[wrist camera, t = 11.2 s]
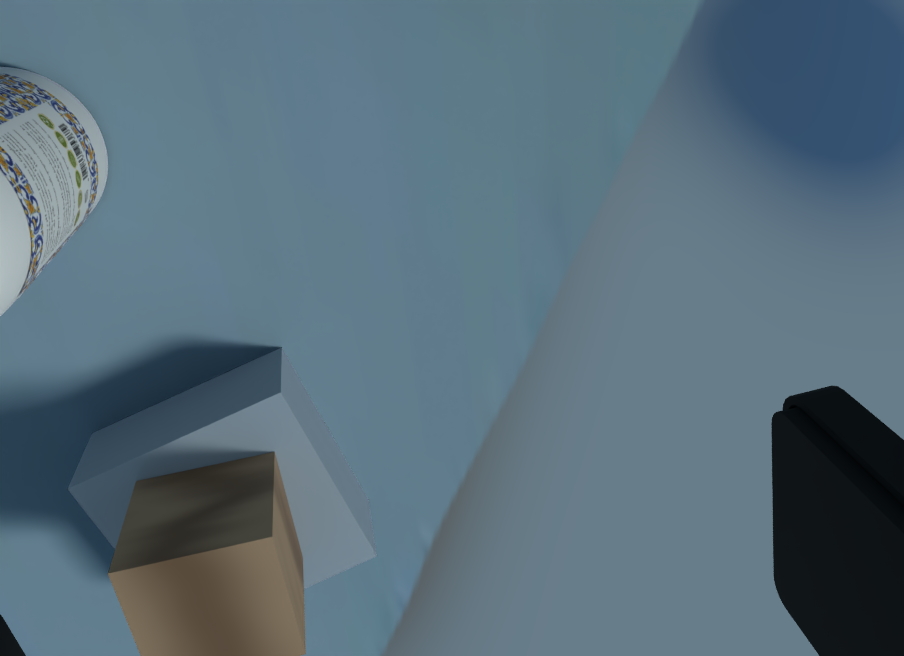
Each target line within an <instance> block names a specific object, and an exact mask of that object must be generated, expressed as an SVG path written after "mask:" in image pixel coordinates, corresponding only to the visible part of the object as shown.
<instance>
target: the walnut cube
mask: <svg viewBox="0 0 904 656" xmlns="http://www.w3.org/2000/svg"><path fill="white" fill-rule="evenodd" d="M108 575H109V578H110V580H111V583H112V585H113V588H114V590H115V593H116V595H117V598H118V600H119V603H120V605H121V608H122V610H123V613H124V615H125V618H126V620H127V623H128V625H129V628H130V630H131V633H132V635H133V638H134V640H135V643H136V645H137V648H138V650H139V653H140V655H141V656H300V655H304V654H306V652H305V614H304V576H303V556H302V552H301V548H300V545H299V541H298V537H297V533H296V530H295V526H294V522H293V518H292V515H291V511H290V507H289V503H288V500H287V496H286V492H285V488H284V485H283V481H282V477H281V473H280V470H279V466H278V462H277V458H276V455H275V452H271V453H266V454H261V455H257V456H252V457H247V458H243V459H238V460H233V461H228V462H224V463H219V464H214V465H210V466H205V467H200V468H195V469H191V470H186V471H181V472H177V473H172V474H167V475H163V476H158V477H153V478H148V479H144V480H139V481H136V483H135V486H134V489H133V493H132V496H131V499H130V502H129V506H128V509H127V512H126V516H125V519H124V522H123V526H122V529H121V532H120V535H119V539H118V542H117V545H116V549H115V552H114V555H113V559H112V562H111V565H110V568H109V572H108Z"/></svg>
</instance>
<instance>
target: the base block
mask: <svg viewBox="0 0 904 656" xmlns="http://www.w3.org/2000/svg"><path fill="white" fill-rule="evenodd" d="M271 452H275V455H276V458H277V462H278V466H279V470H280V473H281V477H282V481H283V485H284V488H285V492H286V496H287V500H288V503H289V507H290V511H291V515H292V518H293V522H294V526H295V530H296V533H297V537H298V541H299V545H300V548H301V552H302V556H303V576H304V589H306V588H308V587H310V586H312V585H314V584H317V583H319V582H321V581H323V580H325V579H328V578H330V577H332V576H334V575H336V574H339V573H341V572H343V571H345V570H347V569H350V568H352V567H354V566H356V565H358V564H361V563H363V562H365V561H367V560H369V559H372V558H374V557H376V556H377V553H376V546H375V539H374V533H373V526H372V519H371V513H370V506H369V499H368V498H367V496H366V494H365V492H364V491H363V489H362V487H361V485H360V484H359V482H358V480H357V478H356V477H355V475H354V473H353V471H352V470H351V468H350V466H349V464H348V462H347V461H346V459H345V457H344V455H343V454H342V452H341V450H340V448H339V447H338V445H337V443H336V441H335V440H334V438H333V436H332V434H331V433H330V431H329V429H328V427H327V426H326V424H325V422H324V420H323V419H322V417H321V415H320V413H319V412H318V410H317V408H316V406H315V405H314V403H313V401H312V399H311V397H310V396H309V394H308V392H307V390H306V389H305V387H304V385H303V383H302V382H301V380H300V378H299V376H298V375H297V373H296V371H295V369H294V368H293V366H292V364H291V362H290V361H289V359H288V357H287V355H286V354H285V352H284V350H283V348H282V347H281V348H279V349H277V350H275V351H273V352H270V353H268V354H266V355H264V356H262V357H259V358H257V359H255V360H253V361H251V362H248V363H246V364H244V365H242V366H239V367H237V368H235V369H233V370H231V371H228V372H226V373H224V374H222V375H220V376H217V377H215V378H213V379H211V380H209V381H206V382H204V383H202V384H200V385H197V386H195V387H193V388H191V389H189V390H186V391H184V392H182V393H180V394H178V395H175V396H173V397H171V398H169V399H167V400H164V401H162V402H160V403H158V404H156V405H153V406H151V407H149V408H147V409H144V410H142V411H140V412H138V413H136V414H133V415H131V416H129V417H127V418H125V419H122V420H120V421H118V422H116V423H114V424H111V425H109V426H107V427H105V428H103V429H100V430H98V431H96V432H94V433H92V434H91V436H90V439H89V441H88V443H87V446H86V448H85V450H84V452H83V455H82V457H81V459H80V461H79V464H78V466H77V468H76V471H75V473H74V475H73V477H72V480H71V482H70V484H69V486H68V490H69V492H70V493H71V494H72V495H73V497H74V498H75V499H76V501H77V502H78V503H79V504H80V506H81V507H82V508H83V510H84V511H85V512H86V513H87V515H88V516H89V517H90V518H91V520H92V521H93V522H94V524H95V525H96V526H97V527H98V529H99V530H100V531H101V533H102V534H103V535H104V536H105V538H106V539H107V540H108V541H109V543H110V544H111V545H112V547H113V548H114V549H116V545H117V542H118V539H119V535H120V532H121V529H122V526H123V522H124V519H125V516H126V512H127V509H128V506H129V502H130V499H131V496H132V493H133V489H134V486H135V483H136V481H139V480H144V479H148V478H153V477H158V476H163V475H167V474H172V473H177V472H181V471H186V470H191V469H195V468H200V467H205V466H210V465H214V464H219V463H224V462H228V461H233V460H238V459H243V458H247V457H252V456H257V455H261V454H266V453H271Z"/></svg>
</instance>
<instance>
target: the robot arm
mask: <svg viewBox="0 0 904 656" xmlns="http://www.w3.org/2000/svg"><path fill="white" fill-rule="evenodd" d="M772 479H773V480H772V485H773V557H774V581H775V585H776V589H777V591H778V594H779V597H780V599H781V601H782V603H783V605H784V606H785V608H786V609H787V610H788V612H789V614H790V615H791V616H792V618H793V619H794V621H795V622H796V623H797V625H798V626H799V628H800V629H801V630H802V632H803V633H804V635H805V636H806V637H807V639H808V640H809V642H810V643H811V644H812V646H813V647H814V649H815V650H816V651H817V653H818V654H819V656H904V440H903V439H902V438H900V437H899V436H898V435H897V434H896V433H895V432H893V431H892V430H891V429H890V428H889V427H887V426H886V425H885V424H884V423H882V422H881V421H880V420H879V419H878V418H877V417H875V416H874V415H873V414H872V413H870V412H869V411H868V410H867V409H866V408H865V407H863V406H862V405H861V404H860V403H859V402H857V401H856V400H855V399H854V398H853V397H851V396H850V395H849V394H848V393H847V392H845V391H844V390H843V389H841V388H839V387H838V386H829V387H825V388H821V389H817V390H813V391H809V392H805V393H801V394H797V395H793V396H789V397H788V398H787V399H785V402H784V404H783V411H779V412H776V413H775V414H774V415H773V417H772ZM0 656H26V655H25V654H24V652H23V650H22V649H21V647H20V645H19V644H18V642H17V640H16V639H15V637H14V635H13V634H12V632H11V630H10V629H9V627H8V625H7V624H6V622H5V620H4V619H3V617H2V616H1V615H0Z"/></svg>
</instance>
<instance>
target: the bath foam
mask: <svg viewBox="0 0 904 656" xmlns="http://www.w3.org/2000/svg"><path fill="white" fill-rule="evenodd" d="M107 173H108V158H107V151H106V146H105V143H104V139H103V137H102V134H101V132H100V129H99V127H98V125H97V124H96V122H95V120H94V119H93V117H92V116H91V114H90V113H89V111H88V110H87V109H86V108H85V106H84V105H83V104H82V103H81V102H80V101H79V100H78V99H77V98H76V97H75V96H74V95H73V94H71V93H70V92H69V91H68V90H66V89H65V88H63V87H62V86H61V85H59V84H57V83H56V82H54V81H52V80H50V79H48V78H46V77H44V76H42V75H39V74H36V73H34V72H30V71H27V70H23V69H18V68H10V67H0V316H1V315H2V314H3V313H4V312H5V311H6V310H7V309H8V308H9V307H10V306H11V305H12V304H13V303H14V301H15V300H16V299H17V298H19V297H20V296H21V295H22V294H23V292H24V291H25V290H26V289H27V288H28V287H29V285H30V284H31V283H32V282H33V281H34V280H35V278H36V277H37V276H38V275H39V274H40V273H41V271H42V270H43V269H44V268H45V267H46V266H47V264H48V263H49V262H50V261H51V260H52V259H53V257H54V256H55V255H56V254H57V253H58V252H59V250H60V249H61V248H62V247H63V246H64V245H65V243H66V242H67V241H68V240H69V239H70V238H71V236H72V235H73V234H74V233H75V232H76V231H77V229H78V228H79V227H80V226H81V225H82V223H83V222H84V221H85V220H86V219H87V217H88V215H89V214H90V213H91V212H92V210H93V209H94V208H95V206H96V205H97V203H98V202H99V200H100V198H101V196H102V193H103V191H104V188H105V184H106V180H107Z"/></svg>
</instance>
